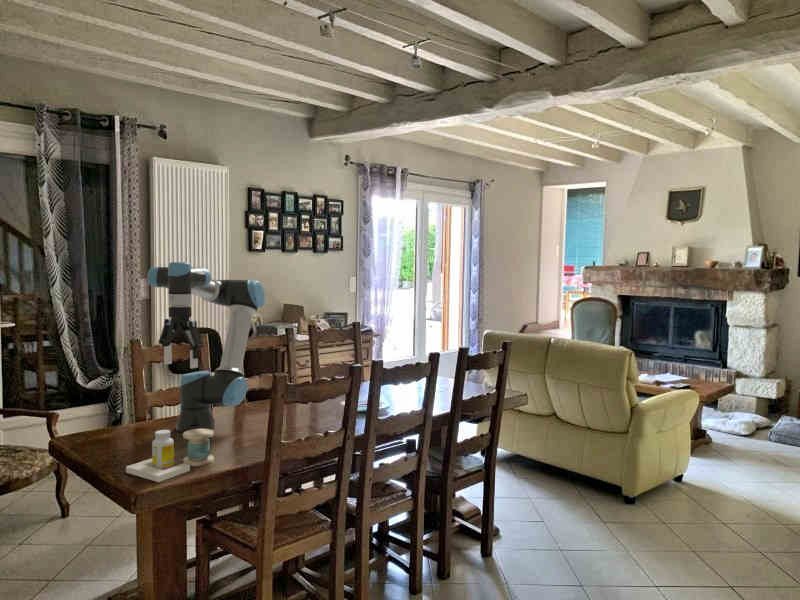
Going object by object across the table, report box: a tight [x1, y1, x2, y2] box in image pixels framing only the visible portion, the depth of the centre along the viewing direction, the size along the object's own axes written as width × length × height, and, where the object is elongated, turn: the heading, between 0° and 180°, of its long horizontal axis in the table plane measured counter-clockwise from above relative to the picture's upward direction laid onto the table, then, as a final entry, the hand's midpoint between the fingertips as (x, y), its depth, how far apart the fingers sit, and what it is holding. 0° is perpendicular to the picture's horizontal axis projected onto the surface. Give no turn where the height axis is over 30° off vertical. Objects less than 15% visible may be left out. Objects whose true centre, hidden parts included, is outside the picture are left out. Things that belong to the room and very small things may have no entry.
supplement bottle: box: [151, 429, 175, 470], centre depth 196 cm, size 7×7×13 cm
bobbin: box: [182, 429, 215, 467], centre depth 205 cm, size 10×10×10 cm
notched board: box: [125, 457, 191, 483], centre depth 194 cm, size 12×16×2 cm
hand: (180, 366), depth 210 cm, fingers open, 13 cm apart
